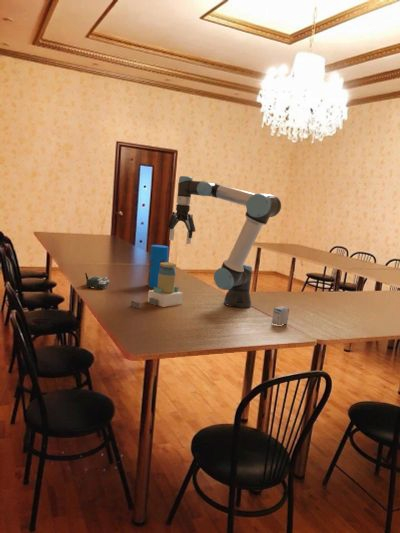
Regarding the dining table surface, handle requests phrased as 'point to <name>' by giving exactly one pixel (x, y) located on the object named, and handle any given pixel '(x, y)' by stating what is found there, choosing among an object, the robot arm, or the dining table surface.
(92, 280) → the communication device
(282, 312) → the medicine box
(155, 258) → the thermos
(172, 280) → the jar
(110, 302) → the dining table surface
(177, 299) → the block
